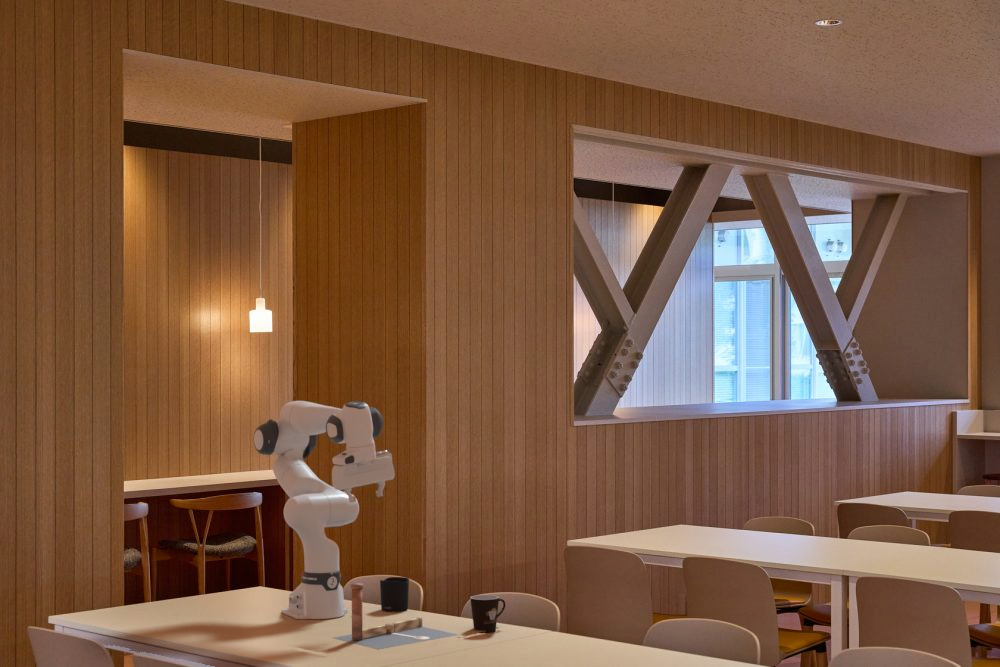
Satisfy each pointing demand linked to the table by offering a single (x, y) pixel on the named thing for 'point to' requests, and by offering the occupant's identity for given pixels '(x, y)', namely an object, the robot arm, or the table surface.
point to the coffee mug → (485, 612)
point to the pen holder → (394, 594)
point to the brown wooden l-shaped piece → (357, 616)
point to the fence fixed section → (403, 625)
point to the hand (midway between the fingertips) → (366, 499)
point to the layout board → (398, 637)
